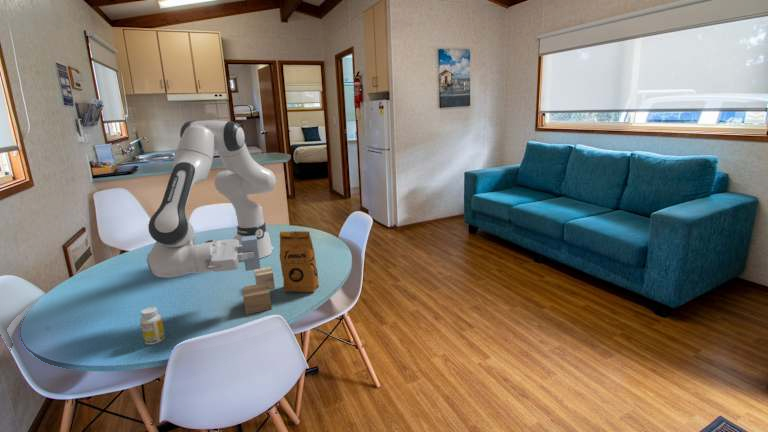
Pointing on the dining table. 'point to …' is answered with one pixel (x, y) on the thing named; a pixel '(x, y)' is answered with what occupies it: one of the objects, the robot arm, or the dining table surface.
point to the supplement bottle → (152, 326)
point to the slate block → (251, 245)
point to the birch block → (264, 276)
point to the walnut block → (257, 298)
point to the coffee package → (298, 262)
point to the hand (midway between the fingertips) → (253, 250)
